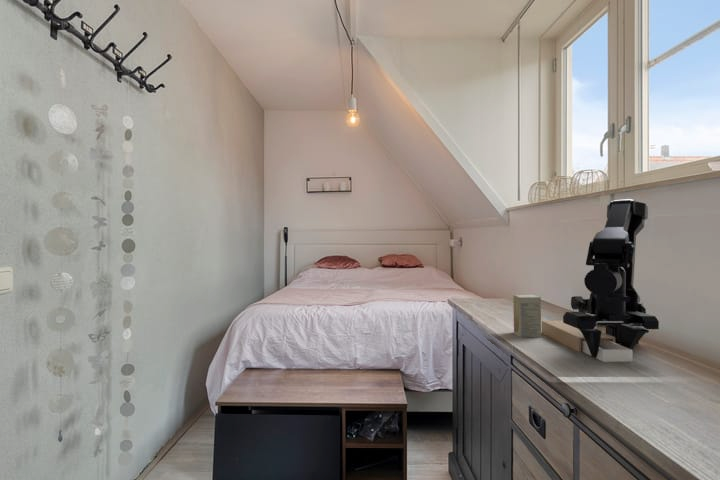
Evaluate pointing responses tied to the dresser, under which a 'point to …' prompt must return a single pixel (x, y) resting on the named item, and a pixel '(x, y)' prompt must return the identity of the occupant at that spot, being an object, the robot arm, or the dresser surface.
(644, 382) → the dresser surface
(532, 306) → the skincare box
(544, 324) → the sleeve
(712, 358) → the dresser surface
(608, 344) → the tray
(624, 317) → the robot arm
